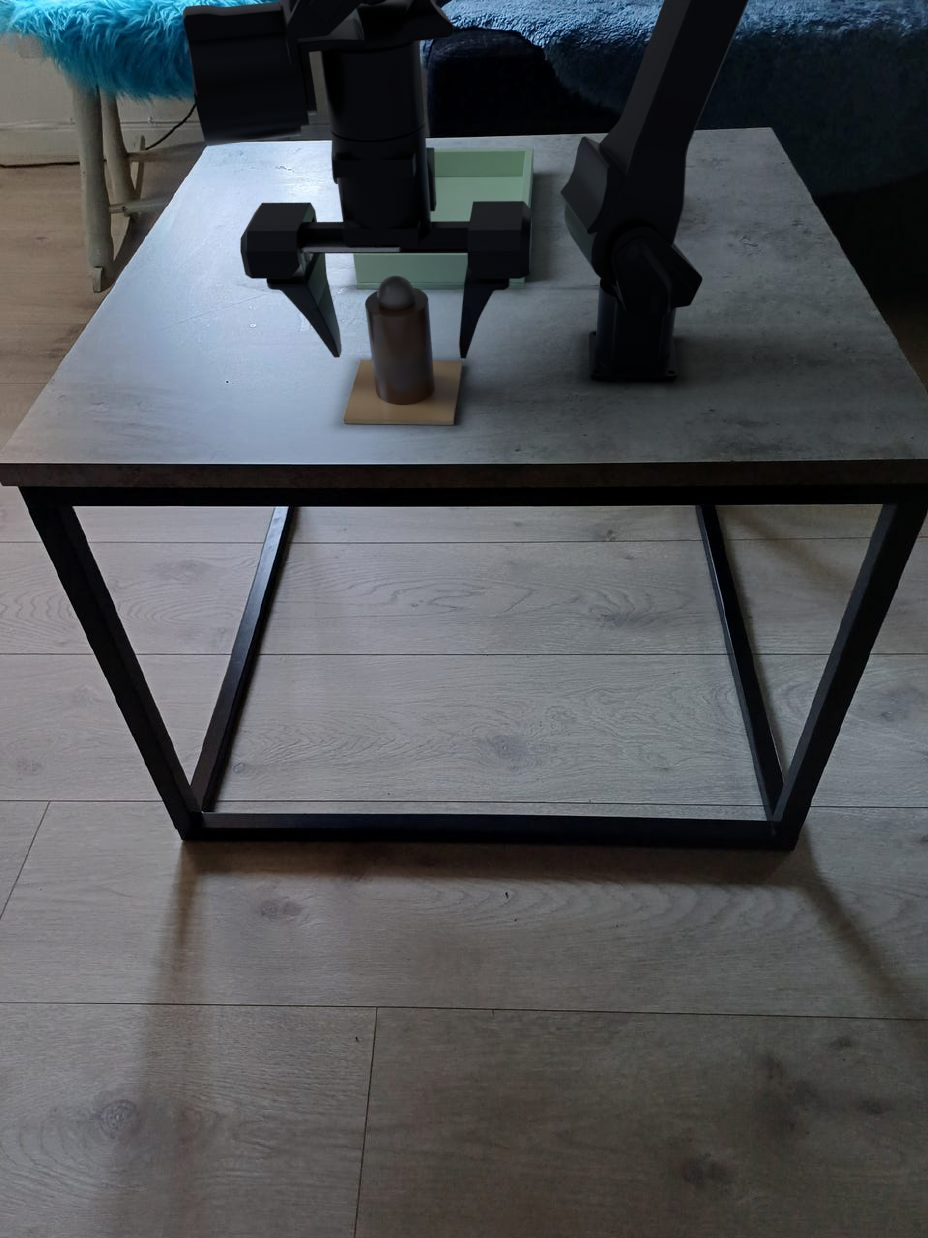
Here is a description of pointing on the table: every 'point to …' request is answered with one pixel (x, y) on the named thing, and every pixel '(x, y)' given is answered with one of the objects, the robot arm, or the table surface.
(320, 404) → the table surface
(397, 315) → the pepper mill
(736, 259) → the table surface
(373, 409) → the cork mat
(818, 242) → the table surface
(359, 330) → the table surface
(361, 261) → the tray
